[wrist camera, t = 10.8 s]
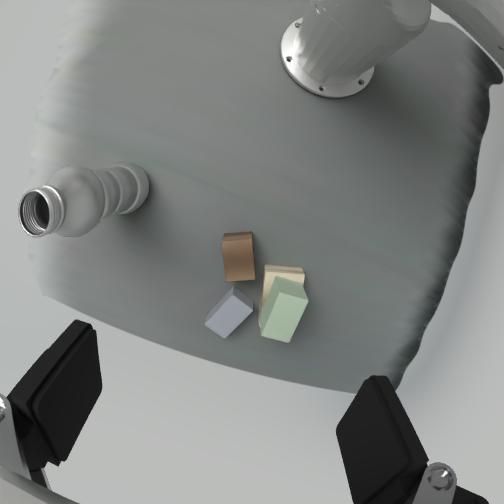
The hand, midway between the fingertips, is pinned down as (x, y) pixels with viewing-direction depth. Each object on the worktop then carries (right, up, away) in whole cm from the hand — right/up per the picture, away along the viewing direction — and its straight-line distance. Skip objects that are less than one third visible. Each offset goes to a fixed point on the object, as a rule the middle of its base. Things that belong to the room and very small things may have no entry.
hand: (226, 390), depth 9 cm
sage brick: (+4, -2, +29) cm, 29 cm away
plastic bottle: (-15, +13, +27) cm, 34 cm away
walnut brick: (-1, +5, +30) cm, 30 cm away
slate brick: (-2, -3, +32) cm, 32 cm away
